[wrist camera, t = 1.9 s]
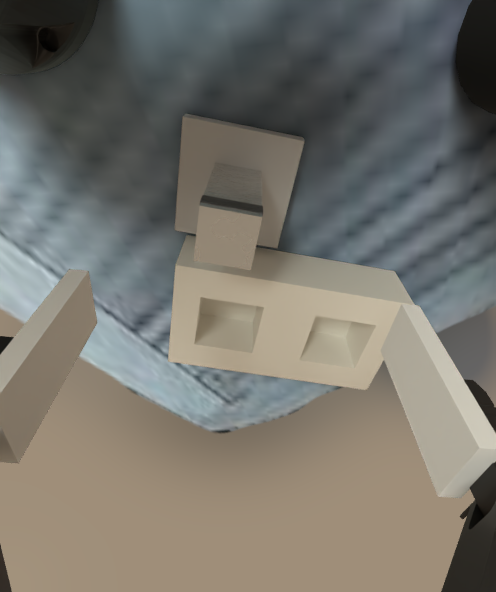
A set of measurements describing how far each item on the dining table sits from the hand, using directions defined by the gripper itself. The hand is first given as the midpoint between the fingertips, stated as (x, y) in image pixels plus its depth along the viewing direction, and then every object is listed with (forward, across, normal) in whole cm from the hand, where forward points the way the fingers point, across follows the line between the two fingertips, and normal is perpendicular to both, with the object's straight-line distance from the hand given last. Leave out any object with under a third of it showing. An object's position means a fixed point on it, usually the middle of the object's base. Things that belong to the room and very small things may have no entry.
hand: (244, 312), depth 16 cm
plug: (+19, -1, -1) cm, 19 cm away
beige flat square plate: (+21, -1, -2) cm, 21 cm away
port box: (+21, +5, -14) cm, 25 cm away
